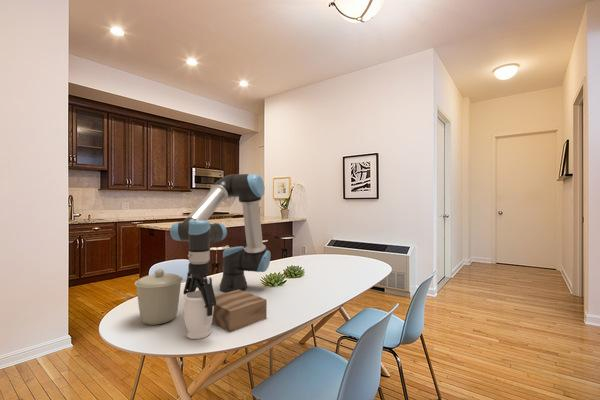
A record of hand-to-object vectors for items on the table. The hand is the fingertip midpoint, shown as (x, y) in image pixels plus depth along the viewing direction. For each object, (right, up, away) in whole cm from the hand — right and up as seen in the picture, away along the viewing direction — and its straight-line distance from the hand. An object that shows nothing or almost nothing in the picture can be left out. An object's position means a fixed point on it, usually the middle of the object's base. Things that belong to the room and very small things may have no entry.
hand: (198, 318), depth 110 cm
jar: (0, -6, 0) cm, 6 cm away
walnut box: (+10, -6, +15) cm, 19 cm away
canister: (-21, -6, +13) cm, 25 cm away
